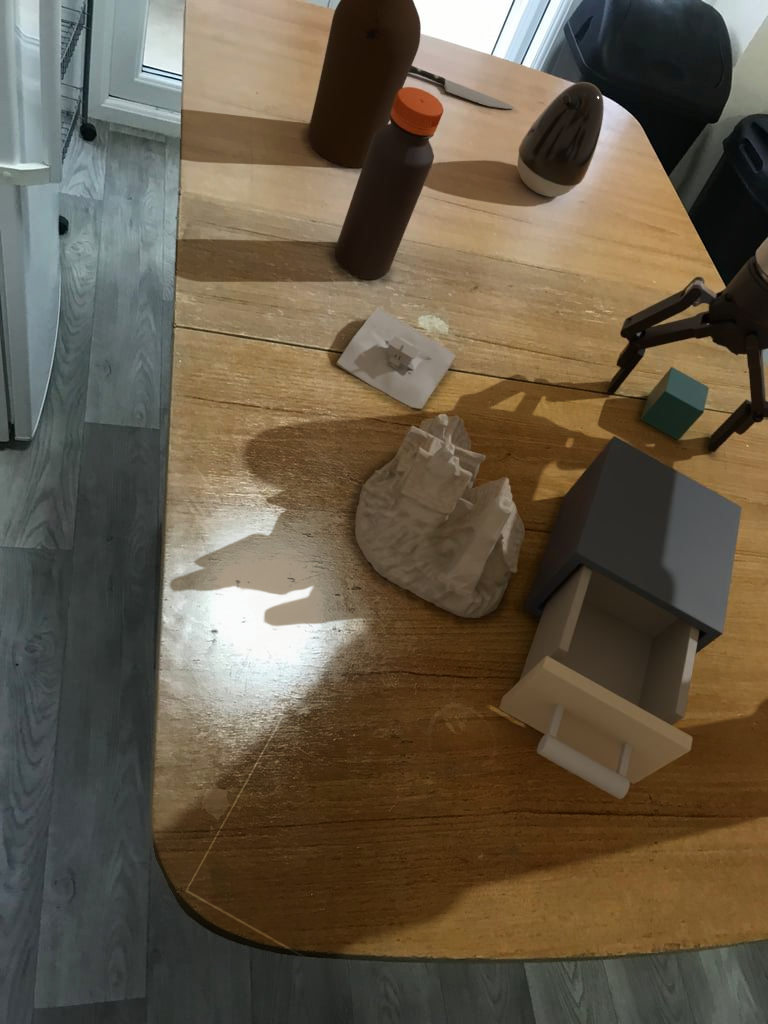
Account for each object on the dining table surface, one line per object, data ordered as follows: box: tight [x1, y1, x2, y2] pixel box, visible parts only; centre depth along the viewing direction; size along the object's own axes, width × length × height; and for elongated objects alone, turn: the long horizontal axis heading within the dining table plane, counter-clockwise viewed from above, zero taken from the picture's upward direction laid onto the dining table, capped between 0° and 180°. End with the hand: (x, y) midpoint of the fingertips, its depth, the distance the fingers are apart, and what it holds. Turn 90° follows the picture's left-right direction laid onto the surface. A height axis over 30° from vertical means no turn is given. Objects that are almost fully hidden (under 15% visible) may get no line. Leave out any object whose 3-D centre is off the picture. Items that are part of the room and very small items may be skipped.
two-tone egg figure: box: [517, 81, 605, 198], centre depth 116 cm, size 10×10×15 cm
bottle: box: [334, 86, 444, 280], centre depth 91 cm, size 7×7×20 cm
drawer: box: [498, 563, 700, 800], centre depth 69 cm, size 19×13×8 cm, turn 157°
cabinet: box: [523, 435, 743, 655], centre depth 78 cm, size 16×14×10 cm
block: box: [640, 366, 710, 441], centre depth 98 cm, size 5×5×5 cm
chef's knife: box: [408, 65, 516, 110], centre depth 130 cm, size 19×1×3 cm
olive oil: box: [307, 0, 422, 169], centre depth 102 cm, size 11×11×25 cm
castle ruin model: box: [354, 413, 526, 619], centre depth 73 cm, size 16×16×15 cm
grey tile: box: [336, 306, 457, 411], centre depth 88 cm, size 12×11×4 cm
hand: (661, 415), depth 99 cm, fingers open, 13 cm apart
